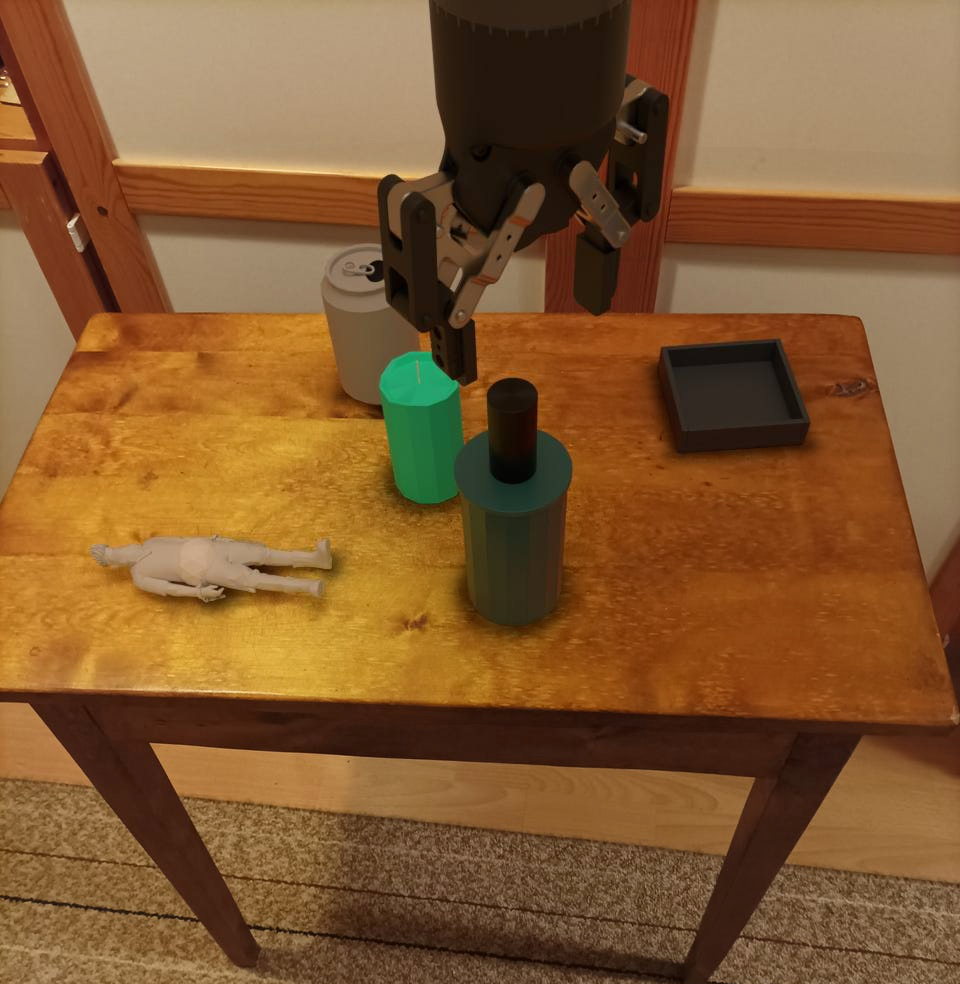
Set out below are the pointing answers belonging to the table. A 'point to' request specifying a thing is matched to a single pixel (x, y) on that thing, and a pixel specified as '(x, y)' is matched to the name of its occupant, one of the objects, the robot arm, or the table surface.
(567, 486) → the pan lid
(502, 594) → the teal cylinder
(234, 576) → the figurine
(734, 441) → the square tray
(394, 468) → the candle
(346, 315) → the can
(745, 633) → the table surface
